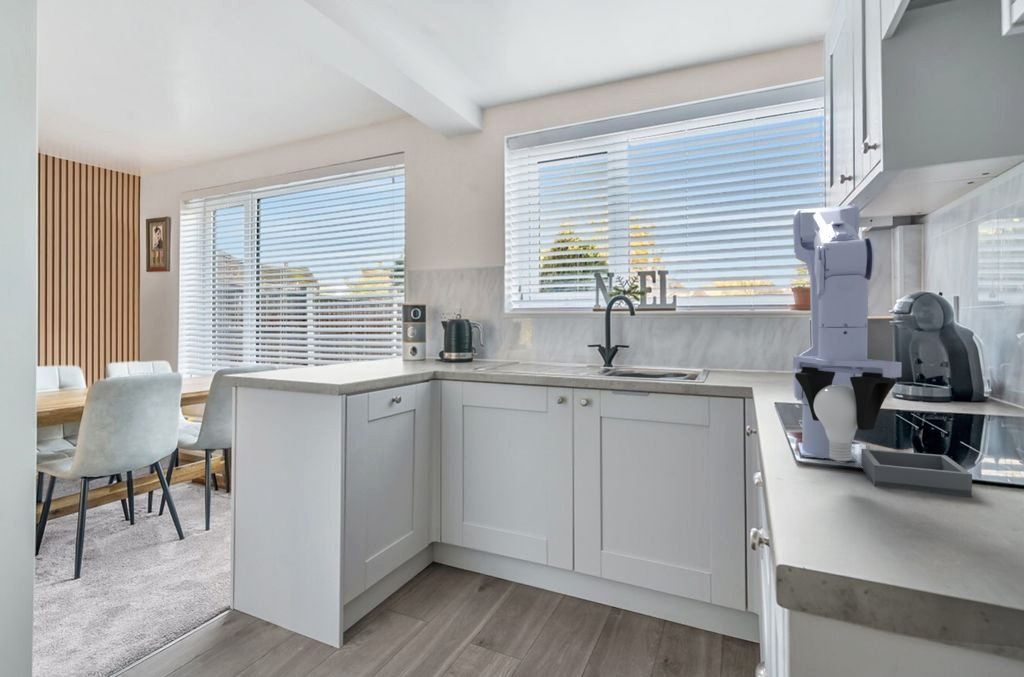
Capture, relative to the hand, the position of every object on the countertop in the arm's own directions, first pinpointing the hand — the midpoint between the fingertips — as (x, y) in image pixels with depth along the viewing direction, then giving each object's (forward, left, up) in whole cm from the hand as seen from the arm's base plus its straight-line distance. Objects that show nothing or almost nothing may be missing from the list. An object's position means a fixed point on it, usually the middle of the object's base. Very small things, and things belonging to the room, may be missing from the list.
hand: (841, 424), depth 71 cm
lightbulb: (0, 0, -6) cm, 6 cm away
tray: (-8, +10, -9) cm, 15 cm away
